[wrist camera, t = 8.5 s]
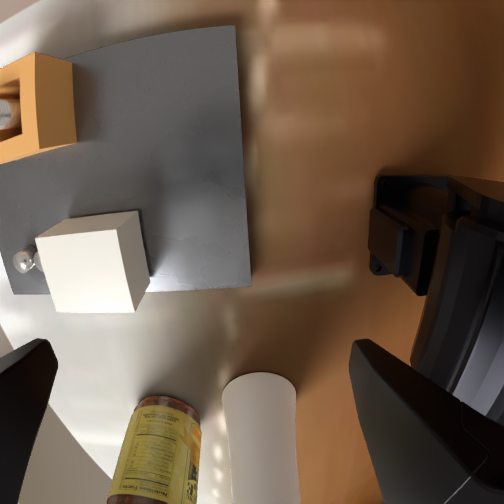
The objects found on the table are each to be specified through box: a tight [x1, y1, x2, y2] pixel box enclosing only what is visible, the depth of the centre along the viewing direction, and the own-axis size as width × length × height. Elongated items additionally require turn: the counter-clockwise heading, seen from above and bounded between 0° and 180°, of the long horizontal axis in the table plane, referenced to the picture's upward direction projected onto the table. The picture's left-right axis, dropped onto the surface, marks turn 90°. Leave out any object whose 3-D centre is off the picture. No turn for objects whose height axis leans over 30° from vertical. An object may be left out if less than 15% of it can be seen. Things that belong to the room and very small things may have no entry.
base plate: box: [0, 25, 251, 294], centre depth 15 cm, size 18×15×6 cm
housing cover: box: [35, 211, 150, 313], centre depth 16 cm, size 5×4×3 cm
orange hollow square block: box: [0, 52, 77, 164], centre depth 13 cm, size 5×5×4 cm
